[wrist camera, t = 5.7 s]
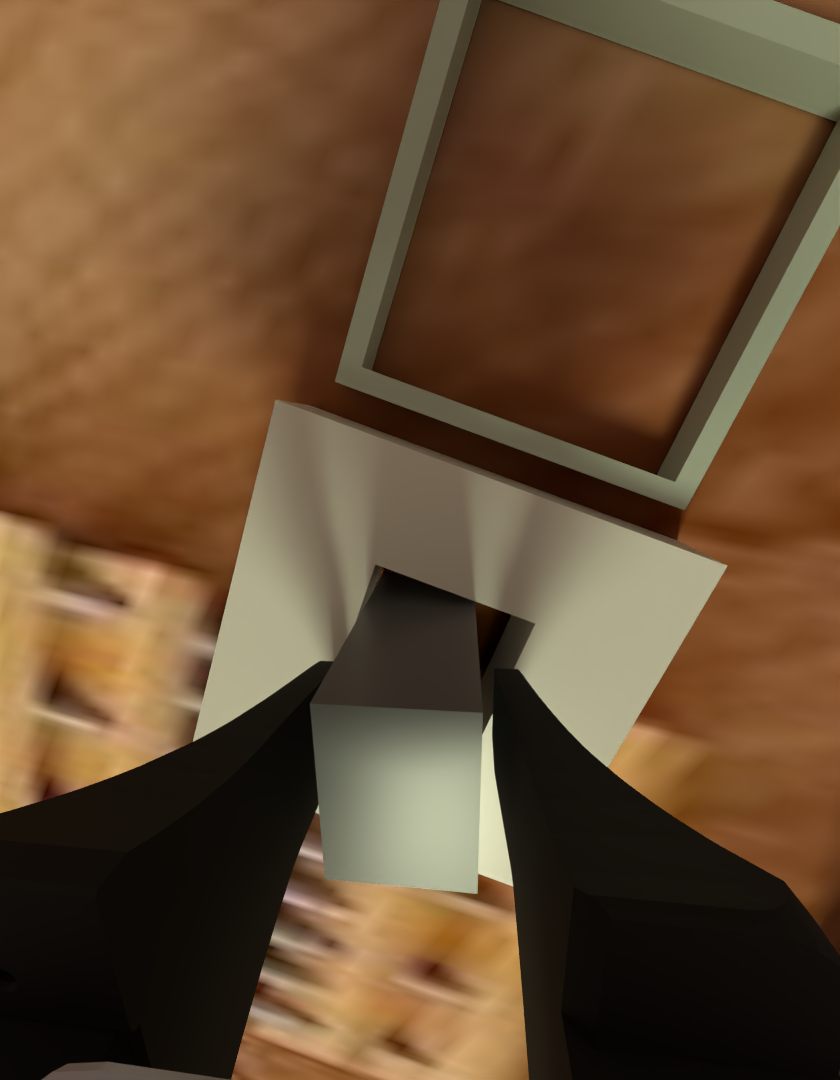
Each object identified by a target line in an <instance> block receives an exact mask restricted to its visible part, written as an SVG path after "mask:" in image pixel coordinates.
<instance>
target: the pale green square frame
mask: <svg viewBox="0 0 840 1080" xmlns="http://www.w3.org/2000/svg"><path fill="white" fill-rule="evenodd" d="M499 1H502V2H505V3H508V4H510V5H513V6H516V7H519V8H522V9H524V10H527V11H530V12H533V13H535V14H538V15H541V16H544V17H546V18H549V19H552V20H555V21H558V22H560V23H563V24H566V25H569V26H571V27H574V28H577V29H580V30H583V31H585V32H588V33H591V34H594V35H596V36H599V37H602V38H605V39H608V40H610V41H613V42H616V43H619V44H621V45H624V46H627V47H630V48H633V49H635V50H638V51H641V52H644V53H646V54H649V55H652V56H655V57H657V58H660V59H663V60H666V61H669V62H671V63H674V64H677V65H680V66H682V67H685V68H688V69H691V70H694V71H696V72H699V73H702V74H705V75H707V76H710V77H713V78H716V79H719V80H721V81H724V82H727V83H730V84H732V85H735V86H738V87H741V88H744V89H746V90H749V91H752V92H755V93H757V94H760V95H763V96H766V97H769V98H771V99H774V100H777V101H780V102H782V103H785V104H788V105H791V106H793V107H796V108H799V109H802V110H805V111H807V112H810V113H813V114H816V115H818V116H821V117H824V118H827V119H830V120H832V121H835V122H837V123H836V125H835V127H834V129H833V131H832V133H831V135H830V137H829V139H828V140H827V142H826V144H825V146H824V148H823V150H822V152H821V154H820V156H819V158H818V160H817V162H816V164H815V166H814V168H813V170H812V172H811V174H810V176H809V178H808V180H807V182H806V184H805V186H804V187H803V189H802V191H801V193H800V195H799V197H798V199H797V201H796V203H795V205H794V207H793V209H792V211H791V213H790V215H789V217H788V219H787V221H786V223H785V225H784V227H783V229H782V231H781V232H780V234H779V236H778V238H777V240H776V242H775V244H774V246H773V248H772V250H771V252H770V254H769V256H768V258H767V260H766V262H765V264H764V266H763V268H762V270H761V272H760V274H759V276H758V278H757V279H756V281H755V283H754V285H753V287H752V289H751V291H750V293H749V295H748V297H747V299H746V301H745V303H744V305H743V307H742V309H741V311H740V313H739V315H738V317H737V319H736V321H735V323H734V325H733V326H732V328H731V330H730V332H729V334H728V336H727V338H726V340H725V342H724V344H723V346H722V348H721V350H720V352H719V354H718V356H717V358H716V360H715V362H714V364H713V366H712V368H711V370H710V371H709V373H708V375H707V377H706V379H705V381H704V383H703V385H702V387H701V389H700V391H699V393H698V395H697V397H696V399H695V401H694V403H693V405H692V407H691V409H690V411H689V413H688V415H687V417H686V418H685V420H684V422H683V424H682V426H681V428H680V430H679V432H678V434H677V436H676V438H675V440H674V442H673V444H672V446H671V448H670V450H669V452H668V454H667V456H666V458H665V460H664V462H663V463H662V465H661V467H660V469H659V471H658V473H657V475H654V474H652V473H649V472H646V471H644V470H641V469H638V468H635V467H633V466H630V465H627V464H624V463H622V462H619V461H616V460H614V459H611V458H608V457H605V456H603V455H600V454H597V453H595V452H592V451H589V450H586V449H584V448H581V447H578V446H575V445H573V444H570V443H567V442H565V441H562V440H559V439H556V438H554V437H551V436H548V435H545V434H543V433H540V432H537V431H535V430H532V429H529V428H526V427H524V426H521V425H518V424H516V423H513V422H510V421H507V420H505V419H502V418H499V417H496V416H494V415H491V414H488V413H486V412H483V411H480V410H477V409H475V408H472V407H469V406H466V405H464V404H461V403H458V402H456V401H453V400H450V399H447V398H445V397H442V396H439V395H436V394H434V393H431V392H428V391H426V390H423V389H420V388H417V387H415V386H412V385H409V384H407V383H404V382H401V381H398V380H396V379H393V378H390V377H387V376H385V375H382V374H379V373H377V372H374V371H372V368H373V365H374V361H375V358H376V354H377V351H378V348H379V344H380V341H381V338H382V334H383V331H384V328H385V324H386V321H387V318H388V314H389V311H390V307H391V304H392V301H393V297H394V294H395V291H396V287H397V284H398V281H399V277H400V274H401V271H402V267H403V264H404V260H405V257H406V254H407V250H408V247H409V244H410V240H411V237H412V234H413V230H414V227H415V224H416V220H417V217H418V213H419V210H420V207H421V203H422V200H423V197H424V193H425V190H426V187H427V183H428V180H429V177H430V173H431V170H432V166H433V163H434V160H435V156H436V153H437V150H438V146H439V143H440V140H441V136H442V133H443V130H444V126H445V123H446V119H447V116H448V113H449V109H450V106H451V103H452V99H453V96H454V93H455V89H456V86H457V83H458V79H459V76H460V72H461V69H462V66H463V62H464V59H465V56H466V52H467V49H468V46H469V42H470V39H471V36H472V32H473V29H474V25H475V22H476V19H477V15H478V12H479V9H480V5H481V2H482V0H440V2H439V6H438V10H437V13H436V17H435V21H434V24H433V28H432V31H431V35H430V39H429V42H428V46H427V49H426V53H425V57H424V60H423V64H422V68H421V71H420V75H419V78H418V82H417V86H416V89H415V93H414V96H413V100H412V104H411V107H410V111H409V115H408V118H407V122H406V125H405V129H404V133H403V136H402V140H401V144H400V147H399V151H398V154H397V158H396V162H395V165H394V169H393V172H392V176H391V180H390V183H389V187H388V191H387V194H386V198H385V201H384V205H383V209H382V212H381V216H380V219H379V223H378V227H377V230H376V234H375V238H374V241H373V245H372V248H371V252H370V256H369V259H368V263H367V266H366V270H365V274H364V277H363V281H362V285H361V288H360V292H359V295H358V299H357V303H356V306H355V310H354V314H353V317H352V321H351V324H350V328H349V332H348V335H347V339H346V342H345V346H344V350H343V353H342V357H341V361H340V364H339V368H338V371H337V375H336V379H335V382H337V383H339V384H342V385H344V386H347V387H350V388H352V389H355V390H358V391H361V392H363V393H366V394H369V395H371V396H374V397H377V398H380V399H382V400H385V401H388V402H390V403H393V404H396V405H399V406H401V407H404V408H407V409H410V410H412V411H415V412H418V413H420V414H423V415H426V416H429V417H431V418H434V419H437V420H439V421H442V422H445V423H448V424H450V425H453V426H456V427H459V428H461V429H464V430H467V431H469V432H472V433H475V434H478V435H480V436H483V437H486V438H488V439H491V440H494V441H497V442H499V443H502V444H505V445H508V446H510V447H513V448H516V449H518V450H521V451H524V452H527V453H529V454H532V455H535V456H537V457H540V458H543V459H546V460H548V461H551V462H554V463H557V464H559V465H562V466H565V467H567V468H570V469H573V470H576V471H578V472H581V473H584V474H586V475H589V476H592V477H595V478H597V479H600V480H603V481H606V482H608V483H611V484H614V485H616V486H619V487H622V488H625V489H627V490H630V491H633V492H635V493H638V494H641V495H644V496H646V497H649V498H652V499H654V500H657V501H660V502H663V503H665V504H668V505H671V506H674V507H677V508H680V509H682V510H685V509H686V508H687V506H688V504H689V502H690V500H691V498H692V497H693V495H694V493H695V491H696V489H697V487H698V485H699V484H700V482H701V480H702V478H703V476H704V474H705V473H706V471H707V469H708V467H709V465H710V463H711V462H712V460H713V458H714V456H715V454H716V452H717V450H718V449H719V447H720V445H721V443H722V441H723V439H724V438H725V436H726V434H727V432H728V430H729V428H730V427H731V425H732V423H733V421H734V419H735V417H736V415H737V414H738V412H739V410H740V408H741V406H742V404H743V403H744V401H745V399H746V397H747V395H748V393H749V392H750V390H751V388H752V386H753V384H754V382H755V380H756V379H757V377H758V375H759V373H760V371H761V369H762V368H763V366H764V364H765V362H766V360H767V358H768V357H769V355H770V353H771V351H772V349H773V347H774V345H775V344H776V342H777V340H778V338H779V336H780V334H781V333H782V331H783V329H784V327H785V325H786V323H787V322H788V320H789V318H790V316H791V314H792V312H793V310H794V309H795V307H796V305H797V303H798V301H799V299H800V298H801V296H802V294H803V292H804V290H805V288H806V287H807V285H808V283H809V281H810V279H811V277H812V275H813V274H814V272H815V270H816V268H817V266H818V264H819V263H820V261H821V259H822V257H823V255H824V253H825V252H826V250H827V248H828V246H829V244H830V242H831V240H832V239H833V237H834V235H835V233H836V231H837V229H838V228H839V226H840V24H838V23H835V22H832V21H829V20H827V19H824V18H821V17H818V16H815V15H813V14H810V13H807V12H804V11H802V10H799V9H796V8H793V7H790V6H788V5H785V4H782V3H779V2H776V1H774V0H499Z"/></svg>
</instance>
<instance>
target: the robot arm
mask: <svg viewBox="0 0 840 1080" xmlns="http://www.w3.org/2000/svg"><path fill="white" fill-rule="evenodd" d="M333 662H334V661H319V662H318V663H316V664H314V665H313V666H311V667H310V668H309V669H307V670H306V671H304V672H303V673H301V674H300V675H299V676H297V677H296V678H295V679H293V680H292V681H290V682H289V683H288V684H286V685H285V686H283V687H282V688H280V689H279V690H278V691H276V692H275V693H273V694H272V695H270V696H269V697H268V698H266V699H265V700H263V701H261V702H260V703H258V704H257V705H255V706H254V707H252V708H251V709H249V710H247V711H246V712H244V713H243V714H241V715H240V716H238V717H237V718H235V719H233V720H232V721H230V722H228V723H227V724H225V725H223V726H221V727H220V728H218V729H216V730H214V731H212V732H211V733H209V734H207V735H205V736H203V737H201V738H199V739H197V740H195V741H194V742H192V743H190V744H188V745H186V746H184V747H181V748H179V749H177V750H175V751H172V752H170V753H168V754H166V755H164V756H161V757H159V758H157V759H155V760H153V761H150V762H148V763H146V764H144V765H142V766H139V767H137V768H134V769H132V770H129V771H127V772H124V773H122V774H119V775H117V776H114V777H111V778H109V779H106V780H103V781H100V782H98V783H95V784H92V785H89V786H87V787H84V788H81V789H78V790H75V791H72V792H69V793H66V794H63V795H60V796H56V797H53V798H50V799H47V800H43V801H40V802H37V803H34V804H30V805H27V806H24V807H21V808H17V809H14V810H11V811H7V812H3V813H0V1080H231V1077H232V1074H233V1070H234V1066H235V1062H236V1058H237V1055H238V1051H239V1047H240V1043H241V1040H242V1036H243V1033H244V1029H245V1026H246V1022H247V1019H248V1015H249V1012H250V1008H251V1005H252V1001H253V997H254V994H255V990H256V987H257V983H258V980H259V976H260V973H261V969H262V966H263V963H264V959H265V956H266V953H267V949H268V946H269V943H270V940H271V936H272V933H273V930H274V926H275V923H276V920H277V916H278V913H279V910H280V907H281V904H282V901H283V897H284V894H285V891H286V888H287V885H288V882H289V879H290V875H291V872H292V869H293V866H294V864H295V861H296V858H297V856H298V853H299V851H300V848H301V845H302V843H303V841H304V838H305V836H306V834H307V831H308V829H309V826H310V824H311V822H312V819H313V817H314V815H315V812H316V810H317V807H318V805H319V803H318V791H317V780H316V768H315V757H314V745H313V734H312V722H311V711H310V702H311V701H312V699H313V697H314V695H315V694H316V692H317V690H318V688H319V686H320V685H321V683H322V681H323V679H324V678H325V676H326V674H327V672H328V671H329V669H330V667H331V665H332V663H333ZM492 743H493V759H494V773H495V779H496V785H497V791H498V797H499V803H500V808H501V814H502V820H503V826H504V831H505V837H506V843H507V849H508V854H509V860H510V866H511V873H512V881H513V888H514V899H515V911H516V922H517V933H518V945H519V957H520V969H521V981H522V993H523V1005H524V1018H525V1031H526V1044H527V1057H528V1070H529V1080H840V1076H839V1074H838V1073H839V1070H840V956H839V954H838V953H837V952H836V950H835V949H834V947H833V946H832V944H831V943H830V941H829V940H828V938H827V937H826V936H825V934H824V933H823V931H822V930H821V928H820V927H819V926H818V924H817V923H816V921H815V920H814V919H813V917H812V916H811V915H810V913H809V912H808V911H807V909H806V908H805V907H804V906H803V904H802V903H801V902H800V901H799V899H798V898H797V897H796V896H795V894H794V893H793V892H792V891H791V889H790V888H789V887H788V886H787V884H786V883H785V882H784V881H783V880H781V879H779V878H777V877H775V876H774V875H772V874H770V873H768V872H766V871H764V870H763V869H761V868H759V867H757V866H755V865H754V864H752V863H750V862H748V861H746V860H745V859H743V858H741V857H739V856H737V855H736V854H734V853H732V852H730V851H728V850H727V849H725V848H723V847H721V846H719V845H718V844H716V843H714V842H713V841H711V840H709V839H708V838H706V837H704V836H703V835H701V834H700V833H698V832H697V831H695V830H693V829H692V828H690V827H689V826H687V825H685V824H684V823H682V822H681V821H679V820H678V819H676V818H675V817H673V816H672V815H670V814H669V813H667V812H666V811H664V810H663V809H661V808H660V807H658V806H657V805H655V804H654V803H653V802H651V801H650V800H649V799H647V798H646V797H645V796H643V795H642V794H641V793H639V792H638V791H636V790H635V789H634V788H632V787H631V786H630V785H628V784H627V783H626V782H625V781H623V780H622V779H621V778H620V777H618V776H617V775H616V774H615V773H613V772H612V771H611V770H610V769H609V768H608V767H606V766H605V765H604V764H603V763H602V762H601V761H599V760H598V759H597V758H596V757H595V756H594V755H593V754H591V753H590V752H589V751H588V750H587V749H586V748H585V747H584V746H583V745H582V744H581V743H580V742H579V741H578V740H577V739H576V738H575V737H574V736H573V735H572V734H571V733H570V732H569V731H568V730H567V729H566V727H565V726H564V725H563V724H562V723H561V722H560V721H559V720H558V718H557V717H556V716H555V715H554V714H553V713H552V711H551V710H550V709H549V708H548V707H547V706H546V704H545V703H544V702H543V701H542V699H541V698H540V697H539V696H538V694H537V693H536V692H535V690H534V689H533V688H532V686H531V685H530V684H529V682H528V681H527V680H526V678H525V677H524V675H523V674H522V673H521V672H520V671H519V670H518V669H502V668H494V694H493V722H492Z"/></svg>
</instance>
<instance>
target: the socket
mask: <svg viewBox="0 0 840 1080" xmlns="http://www.w3.org/2000/svg"><path fill="white" fill-rule="evenodd" d="M382 567H384V568H386V569H389V570H392V571H394V572H397V573H400V574H403V575H405V576H408V577H411V578H413V579H416V580H419V581H421V582H424V583H427V584H430V585H432V586H435V587H438V588H440V589H443V590H446V591H449V592H451V593H454V594H457V595H459V596H462V597H465V598H467V599H470V600H473V601H476V602H478V603H481V604H484V605H486V606H489V607H492V608H494V609H497V610H500V611H503V612H505V613H508V614H511V617H510V619H509V621H508V623H507V625H506V628H505V630H504V632H503V634H502V636H501V639H500V641H499V643H498V645H497V647H496V650H495V652H494V654H493V656H492V658H491V660H490V663H489V665H488V667H487V669H486V671H485V674H484V676H483V678H482V680H481V694H482V708H483V725H482V757H481V789H480V822H479V854H478V874H481V875H484V876H486V877H489V878H492V879H494V880H497V881H500V882H502V883H505V884H508V885H510V886H513V881H512V873H511V866H510V860H509V854H508V849H507V843H506V837H505V831H504V826H503V820H502V814H501V808H500V803H499V797H498V791H497V785H496V779H495V773H494V759H493V743H492V722H493V694H494V668H502V669H518V670H519V671H520V672H521V673H522V674H523V675H524V677H525V678H526V680H527V681H528V682H529V684H530V685H531V686H532V688H533V689H534V690H535V692H536V693H537V694H538V696H539V697H540V698H541V699H542V701H543V702H544V703H545V704H546V706H547V707H548V708H549V709H550V710H551V711H552V713H553V714H554V715H555V716H556V717H557V718H558V720H559V721H560V722H561V723H562V724H563V725H564V726H565V727H566V729H567V730H568V731H569V732H570V733H571V734H572V735H573V736H574V737H575V738H576V739H577V740H578V741H579V742H580V743H581V744H582V745H583V746H584V747H585V748H586V749H587V750H588V751H589V752H590V753H591V754H593V755H594V756H595V757H596V758H597V759H598V760H599V761H601V762H602V763H603V764H604V765H605V766H606V767H608V766H609V764H610V763H611V761H612V759H613V758H614V756H615V754H616V753H617V751H618V749H619V748H620V746H621V744H622V743H623V741H624V739H625V738H626V736H627V734H628V732H629V731H630V729H631V727H632V726H633V724H634V722H635V721H636V719H637V717H638V716H639V714H640V712H641V711H642V709H643V707H644V706H645V704H646V702H647V701H648V699H649V697H650V696H651V694H652V692H653V690H654V689H655V687H656V685H657V684H658V682H659V680H660V679H661V677H662V675H663V674H664V672H665V670H666V669H667V667H668V665H669V664H670V662H671V660H672V659H673V657H674V655H675V654H676V652H677V650H678V648H679V647H680V645H681V643H682V642H683V640H684V638H685V637H686V635H687V633H688V632H689V630H690V628H691V627H692V625H693V623H694V622H695V620H696V618H697V617H698V615H699V613H700V612H701V610H702V608H703V606H704V605H705V603H706V601H707V600H708V598H709V596H710V595H711V593H712V591H713V590H714V588H715V586H716V585H717V583H718V581H719V580H720V578H721V576H722V575H723V573H724V571H725V569H726V568H727V565H725V564H723V563H721V562H719V561H717V560H715V559H713V558H711V557H709V556H707V555H705V554H703V553H701V552H699V551H697V550H695V549H693V548H691V547H689V546H687V545H685V544H683V543H682V542H680V541H677V540H675V539H672V538H669V537H667V536H664V535H661V534H658V533H656V532H653V531H650V530H648V529H645V528H642V527H639V526H637V525H634V524H631V523H628V522H626V521H623V520H620V519H618V518H615V517H612V516H609V515H607V514H604V513H601V512H599V511H596V510H593V509H590V508H588V507H585V506H582V505H580V504H577V503H574V502H571V501H569V500H566V499H563V498H561V497H558V496H555V495H552V494H550V493H547V492H544V491H542V490H539V489H536V488H533V487H531V486H528V485H525V484H522V483H520V482H517V481H514V480H512V479H509V478H506V477H503V476H501V475H498V474H495V473H493V472H490V471H487V470H484V469H482V468H479V467H476V466H474V465H471V464H468V463H465V462H463V461H460V460H457V459H455V458H452V457H449V456H446V455H444V454H441V453H438V452H436V451H433V450H430V449H427V448H425V447H422V446H419V445H417V444H414V443H411V442H408V441H406V440H403V439H400V438H397V437H395V436H392V435H389V434H387V433H384V432H381V431H378V430H376V429H373V428H370V427H368V426H365V425H362V424H359V423H357V422H354V421H351V420H349V419H346V418H343V417H340V416H338V415H335V414H332V413H330V412H327V411H324V410H321V409H319V408H316V407H313V406H310V405H305V404H299V403H293V402H287V401H282V400H275V404H274V408H273V413H272V417H271V421H270V425H269V429H268V433H267V437H266V441H265V446H264V450H263V454H262V458H261V462H260V466H259V470H258V475H257V479H256V483H255V487H254V491H253V495H252V499H251V504H250V508H249V512H248V516H247V520H246V524H245V528H244V532H243V537H242V541H241V545H240V549H239V553H238V557H237V561H236V566H235V570H234V574H233V578H232V582H231V586H230V590H229V594H228V599H227V603H226V607H225V611H224V615H223V619H222V623H221V628H220V632H219V636H218V640H217V644H216V648H215V652H214V657H213V661H212V665H211V669H210V673H209V677H208V681H207V685H206V690H205V694H204V698H203V702H202V706H201V710H200V714H199V719H198V723H197V727H196V731H195V735H194V739H193V742H194V741H195V740H197V739H199V738H201V737H203V736H205V735H207V734H209V733H211V732H212V731H214V730H216V729H218V728H220V727H221V726H223V725H225V724H227V723H228V722H230V721H232V720H233V719H235V718H237V717H238V716H240V715H241V714H243V713H244V712H246V711H247V710H249V709H251V708H252V707H254V706H255V705H257V704H258V703H260V702H261V701H263V700H265V699H266V698H268V697H269V696H270V695H272V694H273V693H275V692H276V691H278V690H279V689H280V688H282V687H283V686H285V685H286V684H288V683H289V682H290V681H292V680H293V679H295V678H296V677H297V676H299V675H300V674H301V673H303V672H304V671H306V670H307V669H309V668H310V667H311V666H313V665H314V664H316V663H318V662H319V661H334V660H335V658H336V656H337V655H338V653H339V651H340V649H341V647H342V646H343V644H344V642H345V640H346V639H347V637H348V635H349V633H350V631H351V630H352V628H353V626H354V624H355V623H356V621H357V619H358V617H359V616H360V614H361V612H362V610H363V608H364V607H365V605H366V603H367V601H368V600H369V598H370V596H371V594H372V592H373V591H374V588H375V585H376V582H377V579H378V576H379V573H380V571H381V568H382ZM315 813H318V814H319V805H318V807H317V810H316V812H315Z"/></svg>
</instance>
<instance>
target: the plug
mask: <svg viewBox="0 0 840 1080" xmlns="http://www.w3.org/2000/svg"><path fill="white" fill-rule="evenodd" d="M310 711H311V722H312V734H313V745H314V757H315V768H316V780H317V791H318V803H319V814H320V826H321V837H322V849H323V861H324V872H325V879H331V880H341V881H352V882H362V883H372V884H383V885H393V886H403V887H414V888H424V889H435V890H445V891H455V892H466V893H476V894H477V886H478V854H479V822H480V789H481V757H482V725H483V708H482V694H481V680H480V666H479V652H478V638H477V624H476V610H475V601H473V600H470V599H467V598H465V597H462V596H459V595H457V594H454V593H451V592H449V591H446V590H443V589H440V588H438V587H435V586H432V585H430V584H427V583H424V582H421V581H419V580H416V579H413V578H411V577H408V576H405V575H403V574H383V575H382V577H381V578H380V580H379V582H378V584H377V585H376V587H375V589H374V591H373V592H372V594H371V596H370V598H369V600H368V601H367V603H366V605H365V607H364V608H363V610H362V612H361V614H360V616H359V617H358V619H357V621H356V623H355V624H354V626H353V628H352V630H351V631H350V633H349V635H348V637H347V639H346V640H345V642H344V644H343V646H342V647H341V649H340V651H339V653H338V655H337V656H336V658H335V660H334V662H333V663H332V665H331V667H330V669H329V671H328V672H327V674H326V676H325V678H324V679H323V681H322V683H321V685H320V686H319V688H318V690H317V692H316V694H315V695H314V697H313V699H312V701H311V702H310Z"/></svg>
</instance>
